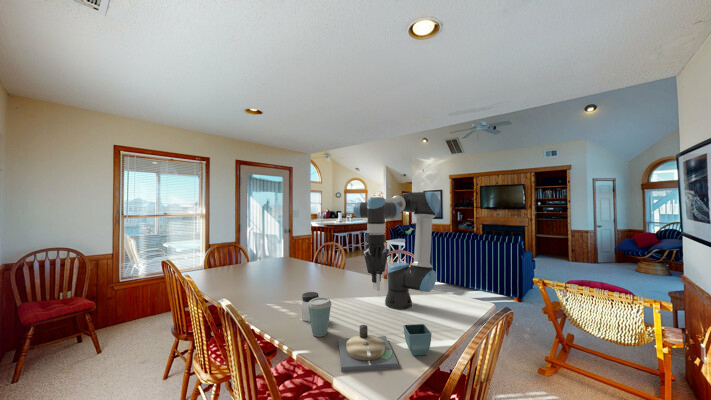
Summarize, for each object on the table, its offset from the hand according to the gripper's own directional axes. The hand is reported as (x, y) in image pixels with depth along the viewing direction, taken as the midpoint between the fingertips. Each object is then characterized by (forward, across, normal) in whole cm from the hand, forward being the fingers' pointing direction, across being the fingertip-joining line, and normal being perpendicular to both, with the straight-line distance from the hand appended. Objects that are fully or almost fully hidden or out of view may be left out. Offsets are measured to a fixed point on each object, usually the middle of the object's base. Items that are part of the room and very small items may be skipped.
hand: (376, 289), depth 116 cm
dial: (+20, +10, +6) cm, 23 cm away
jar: (+22, +12, -38) cm, 45 cm away
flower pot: (+22, -7, +16) cm, 28 cm away
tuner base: (+22, +10, +5) cm, 24 cm away
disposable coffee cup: (+22, +16, -20) cm, 34 cm away
